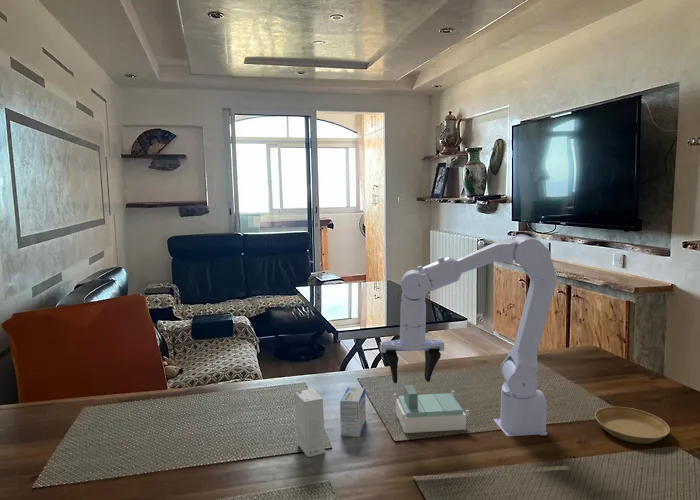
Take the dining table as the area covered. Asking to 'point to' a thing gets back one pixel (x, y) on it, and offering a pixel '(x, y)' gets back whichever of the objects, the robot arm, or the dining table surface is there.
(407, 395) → the three-panel mint board
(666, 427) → the plant saucer
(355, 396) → the medicine box
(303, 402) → the skincare box
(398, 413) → the tub
